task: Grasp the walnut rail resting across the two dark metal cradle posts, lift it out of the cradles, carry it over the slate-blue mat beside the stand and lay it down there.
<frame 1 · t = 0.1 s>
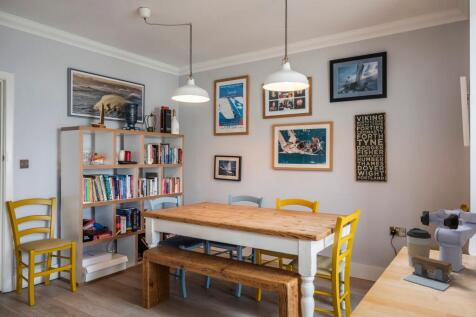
hand: (432, 221, 121), 22 cm above the table, tool horizontal, fingers open, 7 cm apart
mat: (426, 282, 118), on the table
stand: (431, 276, 124), on the table
rail: (431, 268, 124), point 3 cm above the table, touching stand
coffee cup: (418, 266, 136), on the table
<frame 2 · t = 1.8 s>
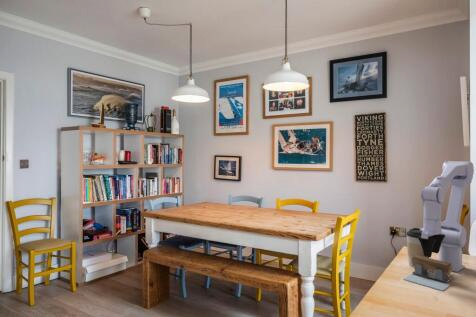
hand: (431, 254, 124), 8 cm above the table, tool pointing down, fingers open, 7 cm apart
nothing on the table moved.
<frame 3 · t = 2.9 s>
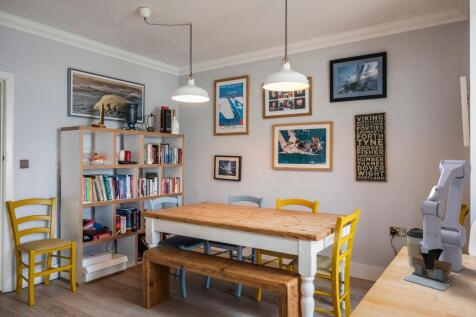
hand: (431, 268, 124), 3 cm above the table, tool pointing down, fingers closed on rail, 3 cm apart
rail: (431, 268, 124), point 3 cm above the table, touching gripper, stand
everything else where it was.
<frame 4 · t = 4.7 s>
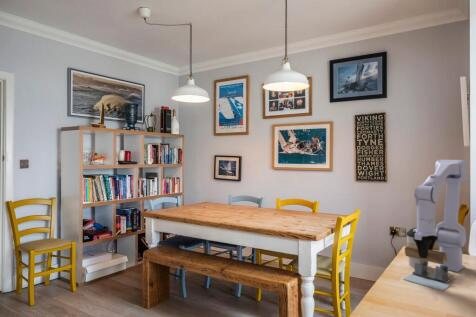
hand: (425, 256, 118), 9 cm above the table, tool pointing down, fingers closed on rail, 3 cm apart
rail: (425, 259, 118), point 8 cm above the table, touching gripper
everything else where it was.
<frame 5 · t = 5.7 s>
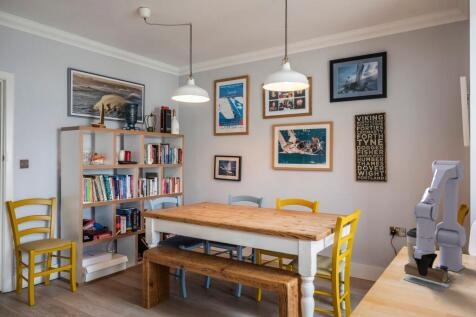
hand: (424, 274, 118), 3 cm above the table, tool pointing down, fingers closed on rail, 3 cm apart
rail: (424, 277, 119), point 2 cm above the table, touching gripper
everything else where it was.
when the fingers open (2 cm above the table, at t = 6.3 s): rail stays where it is, resting on mat.
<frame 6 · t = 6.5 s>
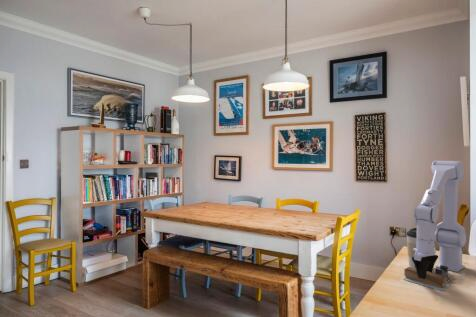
hand: (424, 276, 119), 2 cm above the table, tool pointing down, fingers open, 5 cm apart
rail: (424, 281, 119), resting on mat
everything else where it was.
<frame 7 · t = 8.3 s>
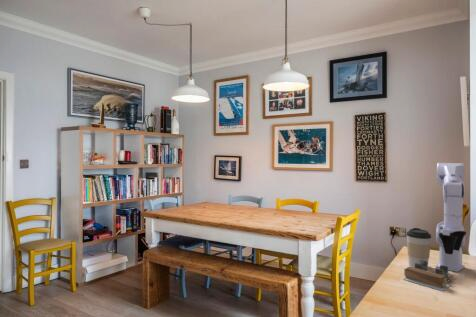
hand: (452, 251, 121), 10 cm above the table, tool pointing down, fingers open, 7 cm apart
nothing on the table moved.
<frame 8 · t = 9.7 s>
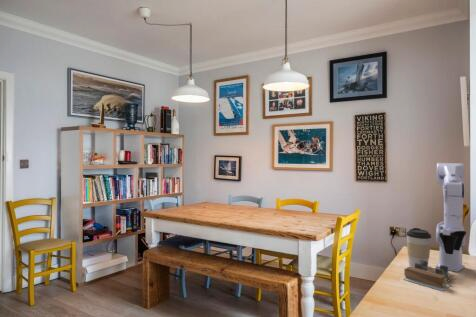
hand: (452, 251, 121), 10 cm above the table, tool pointing down, fingers open, 7 cm apart
nothing on the table moved.
at the end: rail inside the target area on the mat (0.5 cm from its centre), point 0.3 cm above the mat's base; rail touching mat; the gripper is holding nothing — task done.
